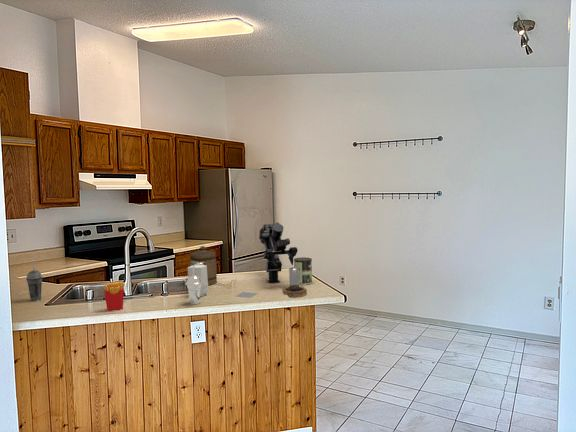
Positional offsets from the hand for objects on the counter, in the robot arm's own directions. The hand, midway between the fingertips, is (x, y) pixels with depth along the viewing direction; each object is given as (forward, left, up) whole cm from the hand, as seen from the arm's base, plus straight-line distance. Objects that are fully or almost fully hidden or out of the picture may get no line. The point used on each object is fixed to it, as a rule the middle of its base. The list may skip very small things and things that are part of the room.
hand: (284, 265), depth 237 cm
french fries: (+12, -85, -14) cm, 87 cm away
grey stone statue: (+12, -48, -14) cm, 52 cm away
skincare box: (-3, -46, -14) cm, 48 cm away
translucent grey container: (-29, -42, -14) cm, 53 cm away
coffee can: (-13, +14, -14) cm, 24 cm away
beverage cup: (-17, -128, -14) cm, 130 cm away
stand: (+8, -22, -14) cm, 27 cm away
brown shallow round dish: (+10, +3, -14) cm, 17 cm away
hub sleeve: (+10, +3, -13) cm, 16 cm away
